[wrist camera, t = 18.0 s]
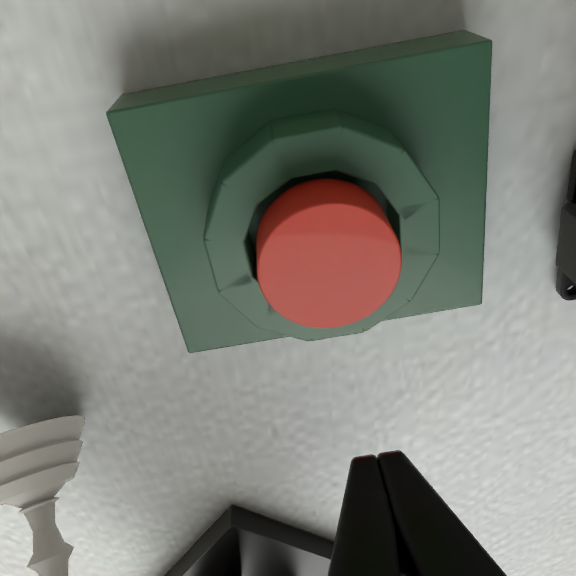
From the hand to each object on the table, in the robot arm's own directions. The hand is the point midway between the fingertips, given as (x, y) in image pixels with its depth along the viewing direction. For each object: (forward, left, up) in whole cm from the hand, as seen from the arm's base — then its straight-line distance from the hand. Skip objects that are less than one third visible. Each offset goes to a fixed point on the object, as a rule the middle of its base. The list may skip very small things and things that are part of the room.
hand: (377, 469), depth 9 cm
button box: (0, 0, -12) cm, 12 cm away
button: (0, 0, -8) cm, 8 cm away
